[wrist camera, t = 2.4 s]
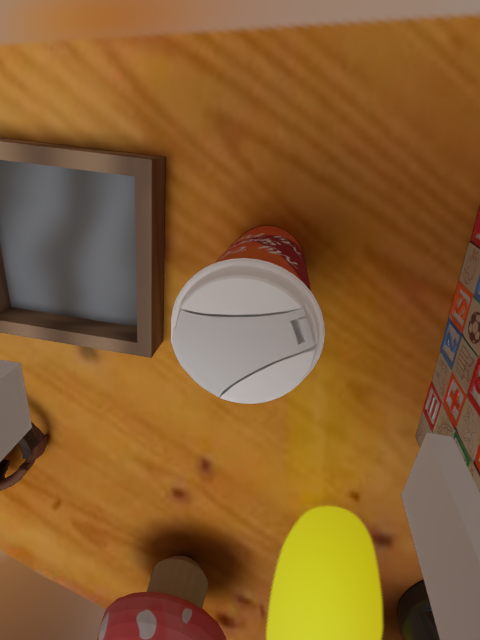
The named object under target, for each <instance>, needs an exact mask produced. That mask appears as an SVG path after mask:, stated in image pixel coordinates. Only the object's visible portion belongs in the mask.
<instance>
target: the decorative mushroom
mask: <svg viewBox="0 0 480 640" xmlns="http://www.w3.org/2000/svg"><path fill="white" fill-rule="evenodd" d="M207 588H208V580H207V578H206V576H205V574H204V572H203V570H202V569H201V567H200V565H199V564H198V563H197V562H195V561H194V560H192V559H191V558H189V557H187V556H172V557H169V558H167V559H165V560H162V561H160V562H158V563H157V564H156V565H155V566H154V569H153V572H152V576H151V579H150V583H149V586H148V589H147V592H139V593H132V594H129V595H126V596H124V597H121V598H119V599H117V600H115V601H114V602H113V603H112V604H111V605H110V606H109V607H108V608H107V609H106V611H105V613H104V616H103V619H102V622H101V626H100V629H99V633H98V638H97V640H226V637H225V635H224V633H223V631H222V629H221V628H220V626H219V624H218V622H217V621H215V620H214V619H213V618H212V617H211V616H210V615H209V614H208V613H207V612H206V611H205V610H204V609H202V607H203V603H204V599H205V596H206V592H207Z"/></svg>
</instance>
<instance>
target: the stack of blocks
mask: <svg viewBox="0 0 480 640" xmlns="http://www.w3.org/2000/svg"><path fill="white" fill-rule="evenodd" d="M471 240H472V241H471V242H470V243H469V244H468V248H467V251H466V255H465V259H464V263H463V266H462V270H461V274H460V278H459V282H458V284H457V288H456V291H455V295H454V298H453V302H452V305H451V309H450V313H449V320H448V324H447V328H446V331H445V335H444V339H443V342H442V346H441V352H440V354H439V358H438V361H437V365H436V369H435V372H434V376H433V380H432V382H431V383H430V387H429V390H428V394H427V398H426V401H425V405H424V409H423V412H422V415H421V418H420V422H419V425H418V429H417V433H416V439H417V442H418V444H419V446H420V448H421V445H422V443H423V440H424V438H425V435H426V433H433V434H439V435H444V436H450V437H453V439H454V441H455V443H456V445H457V447H458V449H459V451H460V453H461V455H462V457H463V459H464V461H465V463H466V465H467V467H468V469H469V471H470V473H471V475H472V478H473V480H474V482H475V484H476V486H477V488H478V490H479V492H480V208H479V211H478V215H477V219H476V223H475V227H474V230H473V235H472V238H471Z"/></svg>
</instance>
